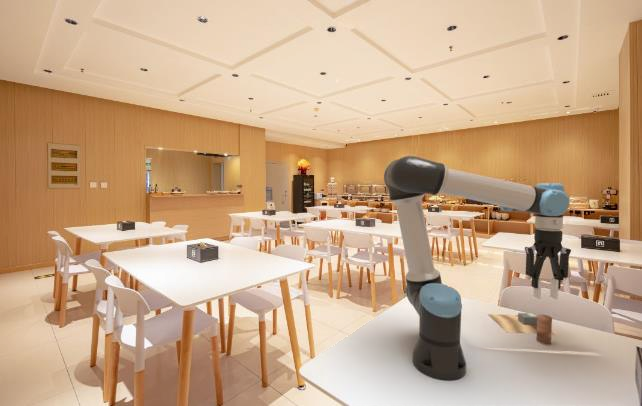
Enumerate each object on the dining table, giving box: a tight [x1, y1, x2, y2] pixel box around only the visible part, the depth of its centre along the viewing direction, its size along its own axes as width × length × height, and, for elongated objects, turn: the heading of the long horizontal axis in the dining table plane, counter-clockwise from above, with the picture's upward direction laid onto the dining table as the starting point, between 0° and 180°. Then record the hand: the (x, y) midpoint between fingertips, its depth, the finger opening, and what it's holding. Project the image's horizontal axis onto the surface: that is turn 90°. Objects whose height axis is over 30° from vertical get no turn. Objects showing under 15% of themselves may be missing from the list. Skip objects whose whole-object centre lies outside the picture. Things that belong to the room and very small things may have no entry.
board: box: [487, 313, 560, 336], centre depth 118 cm, size 18×16×1 cm
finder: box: [517, 312, 538, 325], centre depth 118 cm, size 6×4×3 cm, turn 85°
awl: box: [535, 313, 553, 346], centre depth 104 cm, size 4×4×10 cm
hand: (545, 297), depth 103 cm, fingers open, 5 cm apart
